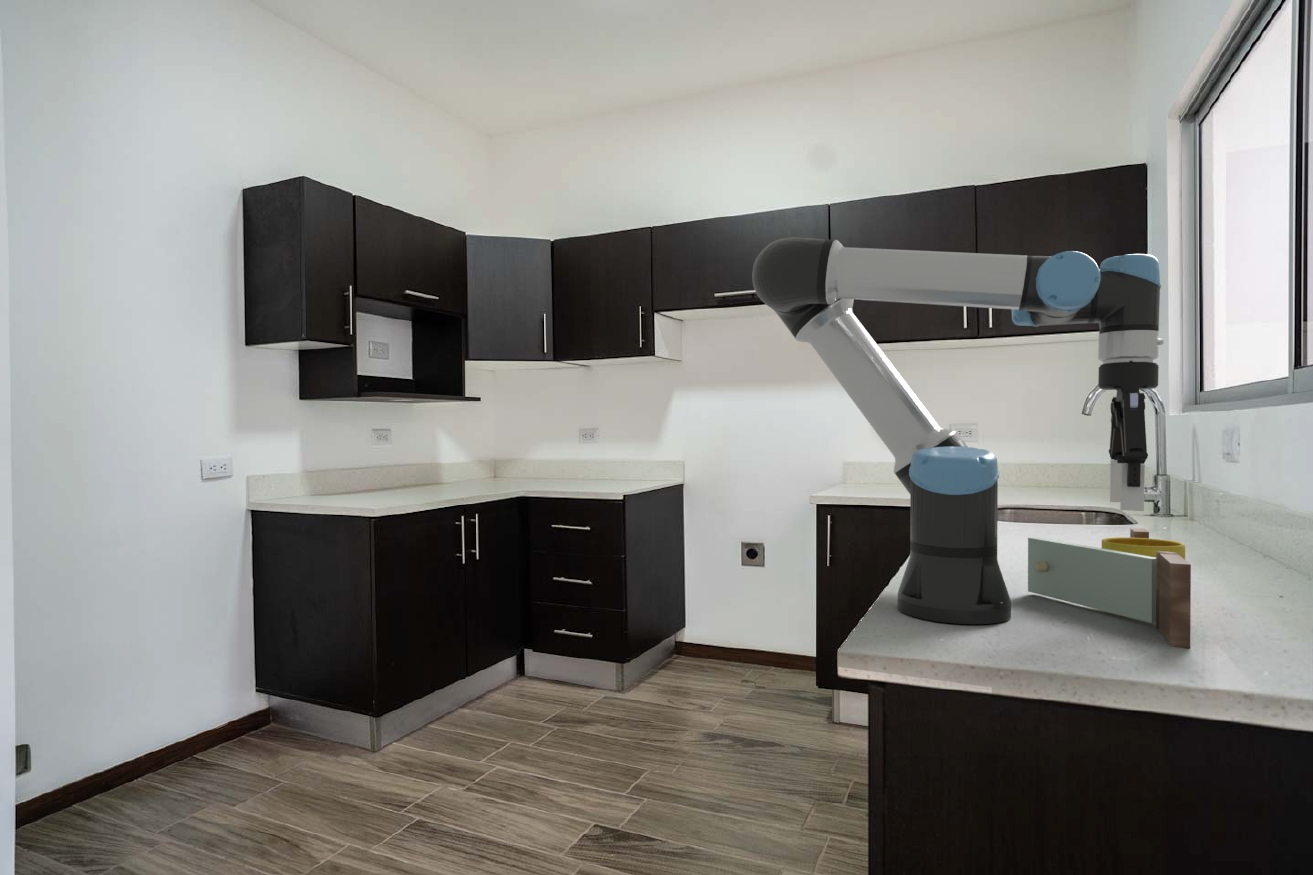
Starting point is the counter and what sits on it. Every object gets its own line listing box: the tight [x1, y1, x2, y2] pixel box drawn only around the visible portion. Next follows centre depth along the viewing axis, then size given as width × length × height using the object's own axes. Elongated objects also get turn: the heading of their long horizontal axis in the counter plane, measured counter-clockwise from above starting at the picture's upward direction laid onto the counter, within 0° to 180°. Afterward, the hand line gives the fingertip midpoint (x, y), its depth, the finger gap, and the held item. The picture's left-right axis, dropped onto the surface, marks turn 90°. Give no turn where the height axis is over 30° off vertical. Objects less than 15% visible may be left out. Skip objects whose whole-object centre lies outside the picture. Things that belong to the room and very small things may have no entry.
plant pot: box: [1101, 536, 1186, 560], centre depth 111 cm, size 10×10×10 cm
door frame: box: [1129, 527, 1192, 649], centre depth 107 cm, size 2×36×10 cm, turn 155°
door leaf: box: [1027, 536, 1156, 624], centre depth 110 cm, size 3×21×8 cm, turn 19°
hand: (1125, 506), depth 112 cm, fingers open, 13 cm apart
